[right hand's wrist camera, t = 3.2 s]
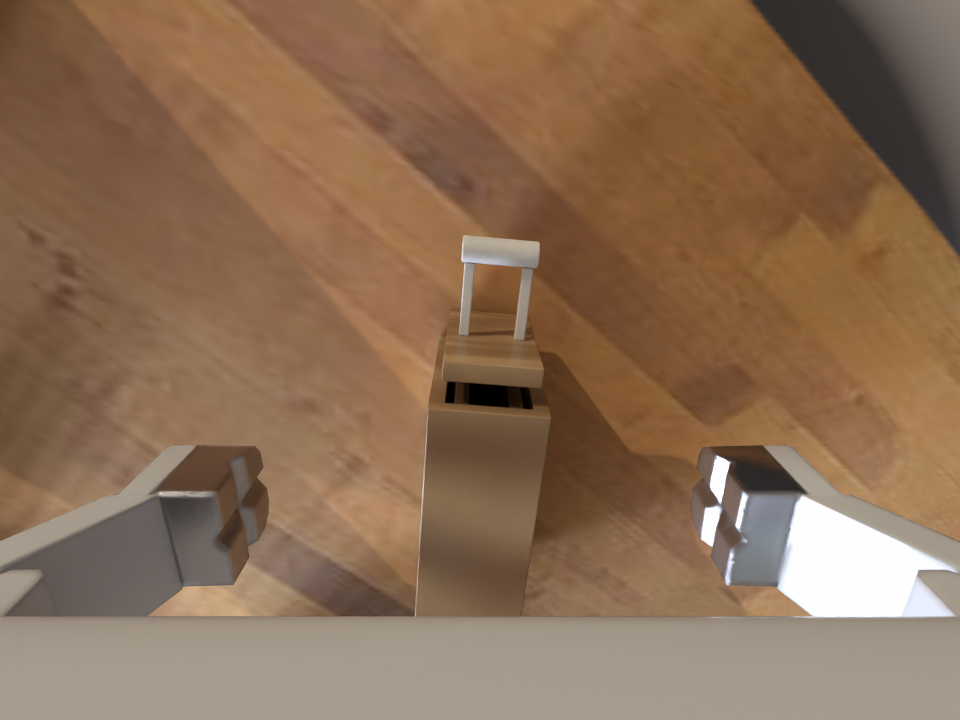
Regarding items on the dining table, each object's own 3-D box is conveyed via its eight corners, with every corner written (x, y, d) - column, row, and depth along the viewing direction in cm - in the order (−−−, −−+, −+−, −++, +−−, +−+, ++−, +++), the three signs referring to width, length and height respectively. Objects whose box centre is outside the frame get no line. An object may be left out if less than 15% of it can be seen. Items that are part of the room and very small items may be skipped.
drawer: (456, 221, 36) (450, 248, 27) (539, 229, 37) (561, 258, 27) (434, 524, 45) (424, 622, 36) (500, 528, 46) (507, 627, 36)
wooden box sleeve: (440, 335, 40) (427, 408, 29) (531, 343, 41) (552, 417, 30) (425, 551, 47) (410, 674, 36) (502, 556, 48) (511, 679, 37)
